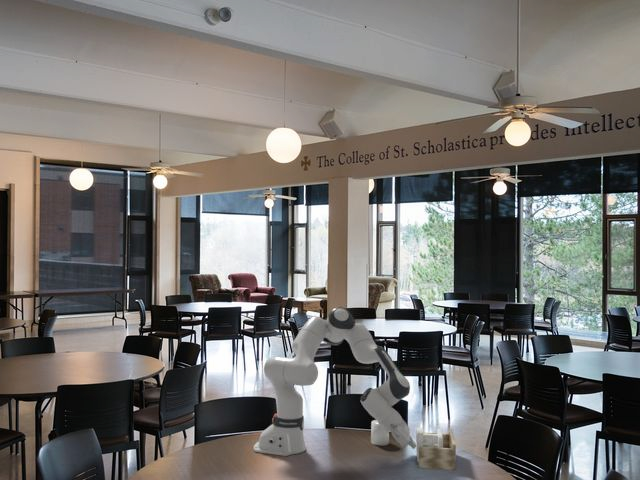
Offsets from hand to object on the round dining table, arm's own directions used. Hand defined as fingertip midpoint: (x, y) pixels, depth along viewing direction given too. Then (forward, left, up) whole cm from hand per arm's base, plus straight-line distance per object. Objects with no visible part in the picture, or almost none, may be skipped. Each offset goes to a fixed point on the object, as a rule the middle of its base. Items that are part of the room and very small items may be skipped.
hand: (415, 446), depth 252 cm
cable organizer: (+6, -1, -5) cm, 8 cm away
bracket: (+9, 0, -5) cm, 10 cm away
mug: (-16, +19, -5) cm, 25 cm away
